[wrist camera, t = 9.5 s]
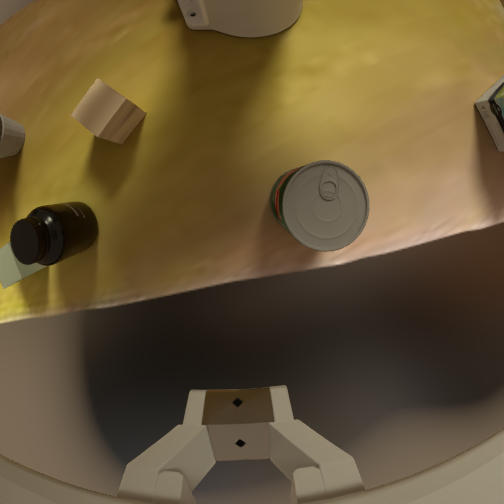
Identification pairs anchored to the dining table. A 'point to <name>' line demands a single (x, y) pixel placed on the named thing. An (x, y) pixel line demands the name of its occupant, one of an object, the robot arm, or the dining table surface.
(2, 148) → the house plant
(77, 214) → the supplement bottle
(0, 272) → the sage block
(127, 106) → the oak block
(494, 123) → the tea box
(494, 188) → the dining table surface
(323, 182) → the canned tomato
